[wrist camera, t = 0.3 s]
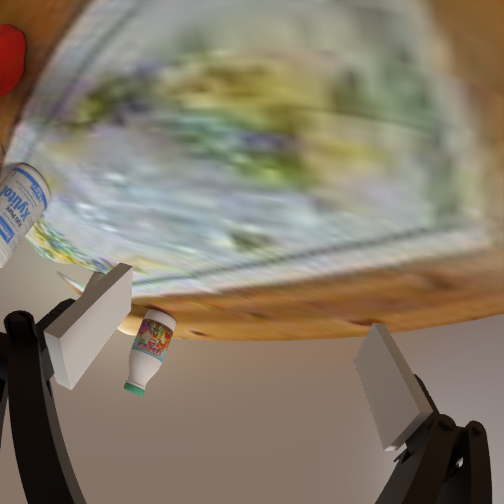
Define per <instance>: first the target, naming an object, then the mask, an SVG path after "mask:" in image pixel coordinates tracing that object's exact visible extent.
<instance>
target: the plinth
mask: <svg viewBox="0 0 504 504" xmlns="http://www.w3.org/2000/svg"><path fill="white" fill-rule="evenodd" d="M4 155H5V152H4V149H3V146H2V143H1V140H0V159H1V158H2V157H3V156H4Z"/></svg>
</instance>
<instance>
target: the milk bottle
mask: <svg viewBox="0 0 504 504" xmlns="http://www.w3.org/2000/svg"><path fill="white" fill-rule="evenodd" d="M175 326H176V320H175V319H174V318H173V317H171V316H170V315H168V314H167V313H164V312H162V311H160V310H156V309H149V310H148V311H147V312H146V314H145V317H144V319H143V321H142V324H141V326H140V328H139V331H138V333H137V336H136V338H135V341H134V343H133V346H132V349H131V352H130V355H129V378H128V380H127V381H126V383H125V386H124V389H126V390H128V391H130V392H132V393H134V394H137V395H140V396H143V394H144V391H145V385H146V383H147V382H148V380H149V379H150V378H151V377H152V376H153V375H154V374H155V373H156V372H157V371H158V369H159V367H160V366H161V363H162V361H163V358H164V356H165V353H166V351H167V348H168V345H169V342H170V340H171V337H172V335H173V332H174V329H175Z"/></svg>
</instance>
